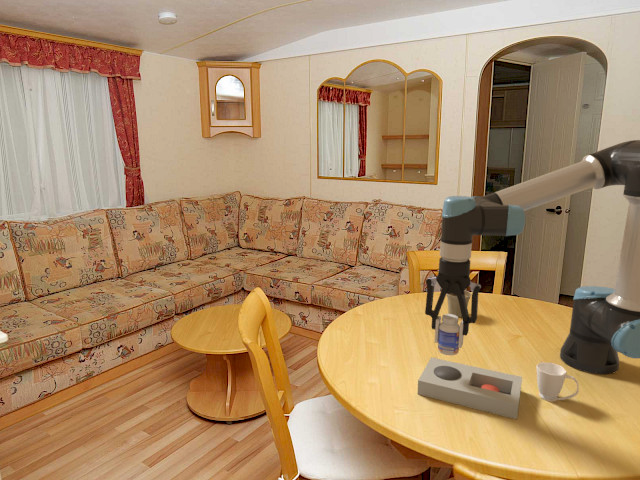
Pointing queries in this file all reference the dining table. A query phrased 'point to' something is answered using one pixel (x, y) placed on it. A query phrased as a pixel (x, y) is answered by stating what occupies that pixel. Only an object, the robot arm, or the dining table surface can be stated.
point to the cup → (552, 381)
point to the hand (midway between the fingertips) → (448, 343)
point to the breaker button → (490, 387)
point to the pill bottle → (448, 335)
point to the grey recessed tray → (471, 387)
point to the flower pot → (456, 303)
